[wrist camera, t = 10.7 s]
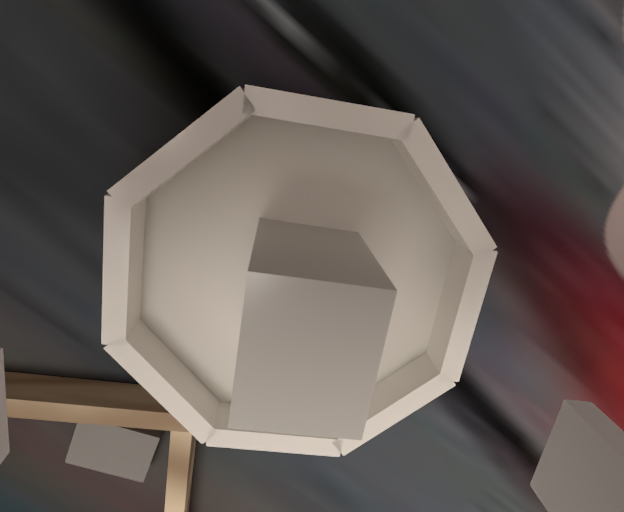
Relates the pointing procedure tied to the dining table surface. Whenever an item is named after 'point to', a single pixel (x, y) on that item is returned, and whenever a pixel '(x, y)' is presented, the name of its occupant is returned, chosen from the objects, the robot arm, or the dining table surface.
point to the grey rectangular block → (114, 449)
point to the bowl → (296, 209)
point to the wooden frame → (106, 417)
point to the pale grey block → (310, 332)
